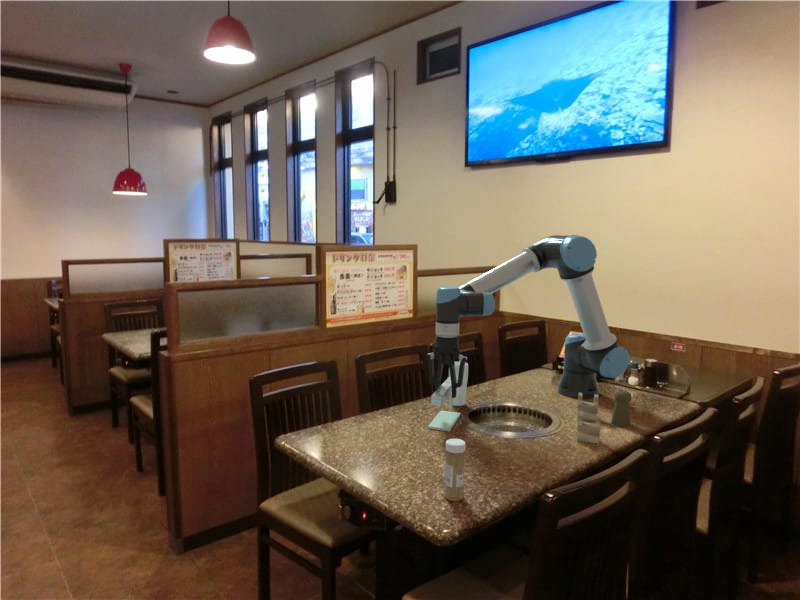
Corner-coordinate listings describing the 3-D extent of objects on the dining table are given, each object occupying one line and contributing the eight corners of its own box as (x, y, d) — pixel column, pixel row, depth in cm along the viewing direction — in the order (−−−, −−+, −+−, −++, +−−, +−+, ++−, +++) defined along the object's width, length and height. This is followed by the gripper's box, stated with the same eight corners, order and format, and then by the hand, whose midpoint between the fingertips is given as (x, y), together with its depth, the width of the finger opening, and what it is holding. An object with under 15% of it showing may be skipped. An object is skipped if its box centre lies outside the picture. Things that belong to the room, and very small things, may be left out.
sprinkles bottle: (465, 501, 122) (467, 445, 120) (445, 502, 121) (447, 445, 120) (462, 492, 126) (463, 437, 124) (442, 492, 126) (444, 437, 124)
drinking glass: (462, 400, 195) (463, 360, 194) (470, 406, 189) (471, 365, 187) (445, 402, 193) (446, 361, 191) (452, 408, 187) (453, 366, 185)
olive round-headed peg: (632, 428, 170) (635, 394, 169) (612, 426, 171) (615, 393, 170) (628, 421, 176) (630, 389, 175) (609, 420, 177) (611, 388, 176)
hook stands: (577, 415, 181) (578, 392, 180) (596, 417, 179) (598, 394, 178) (576, 441, 159) (578, 415, 158) (599, 443, 157) (600, 417, 156)
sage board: (440, 412, 182) (440, 410, 182) (460, 415, 180) (460, 412, 180) (427, 428, 167) (428, 426, 167) (449, 431, 165) (449, 429, 165)
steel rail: (449, 384, 184) (449, 375, 183) (458, 385, 183) (458, 376, 183) (431, 405, 161) (431, 395, 161) (440, 406, 160) (441, 396, 160)
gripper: (419, 335, 169) (418, 407, 172) (469, 339, 164) (467, 413, 167) (426, 331, 176) (424, 400, 179) (474, 335, 171) (472, 405, 174)
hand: (445, 406), depth 173 cm, fingers closed on steel rail, 3 cm apart
